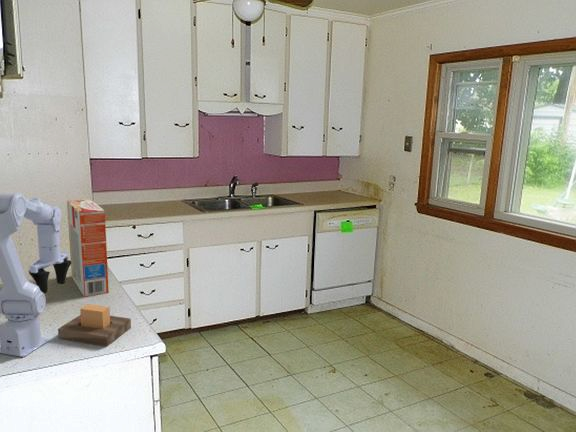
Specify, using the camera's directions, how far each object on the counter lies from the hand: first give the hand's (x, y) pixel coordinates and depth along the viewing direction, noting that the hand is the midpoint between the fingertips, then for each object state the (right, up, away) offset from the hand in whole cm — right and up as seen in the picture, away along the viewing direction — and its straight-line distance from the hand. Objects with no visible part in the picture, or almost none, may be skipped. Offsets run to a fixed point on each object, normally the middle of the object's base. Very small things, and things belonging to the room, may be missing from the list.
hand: (52, 287), depth 141 cm
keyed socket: (+16, -12, -6) cm, 21 cm away
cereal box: (-2, -4, +30) cm, 30 cm away
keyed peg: (+16, -12, -6) cm, 21 cm away
